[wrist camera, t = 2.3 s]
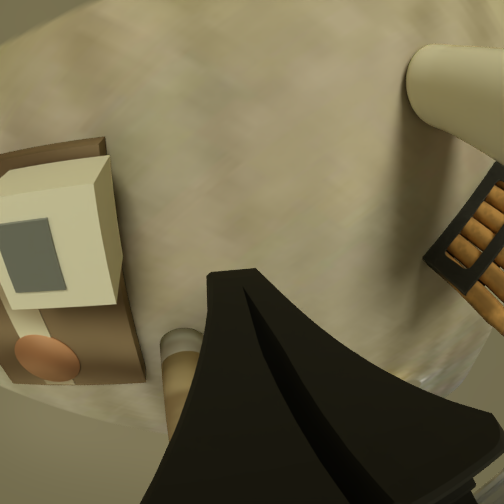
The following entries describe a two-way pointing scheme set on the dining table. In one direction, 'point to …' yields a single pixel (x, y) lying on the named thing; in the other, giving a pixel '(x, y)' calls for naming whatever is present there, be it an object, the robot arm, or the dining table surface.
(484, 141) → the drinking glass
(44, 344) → the board
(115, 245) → the block
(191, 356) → the brown upright cylinder
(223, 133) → the dining table surface
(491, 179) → the ammunition clip
